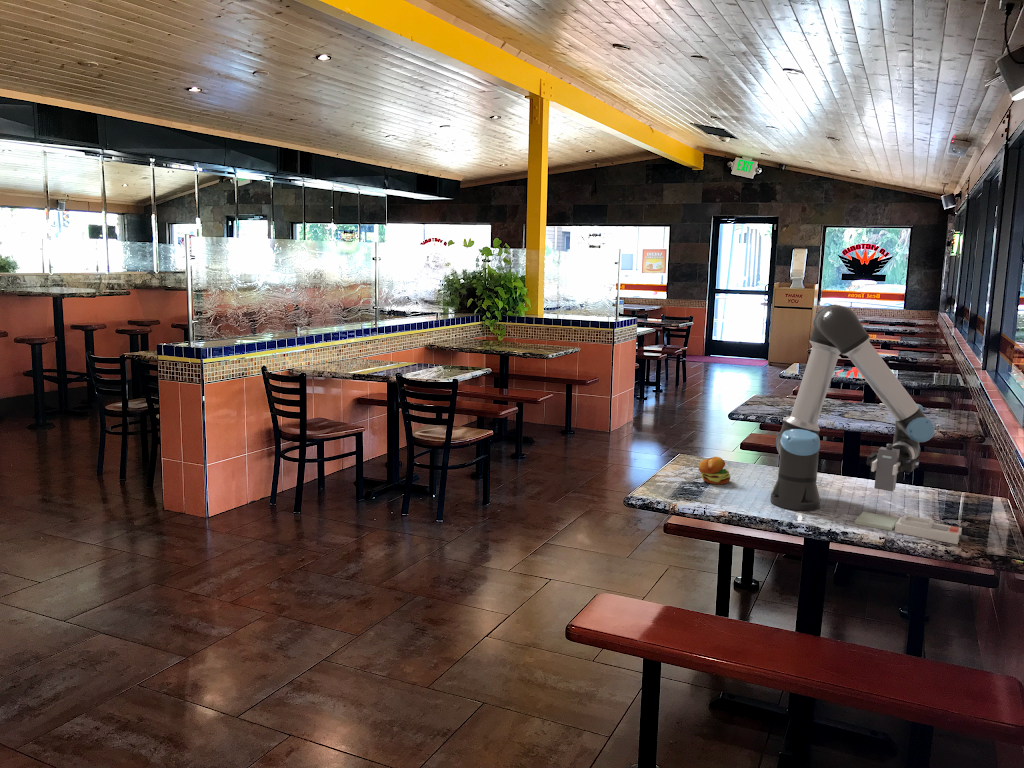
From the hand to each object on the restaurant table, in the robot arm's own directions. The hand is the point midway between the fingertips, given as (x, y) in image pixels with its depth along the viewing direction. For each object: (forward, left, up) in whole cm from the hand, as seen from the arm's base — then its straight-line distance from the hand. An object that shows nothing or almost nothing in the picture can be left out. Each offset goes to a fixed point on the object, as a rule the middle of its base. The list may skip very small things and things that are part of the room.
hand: (883, 468), depth 230 cm
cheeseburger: (-57, +18, -18) cm, 62 cm away
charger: (0, +5, -7) cm, 9 cm away
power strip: (+13, +4, -18) cm, 22 cm away
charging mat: (-1, +6, -18) cm, 19 cm away
